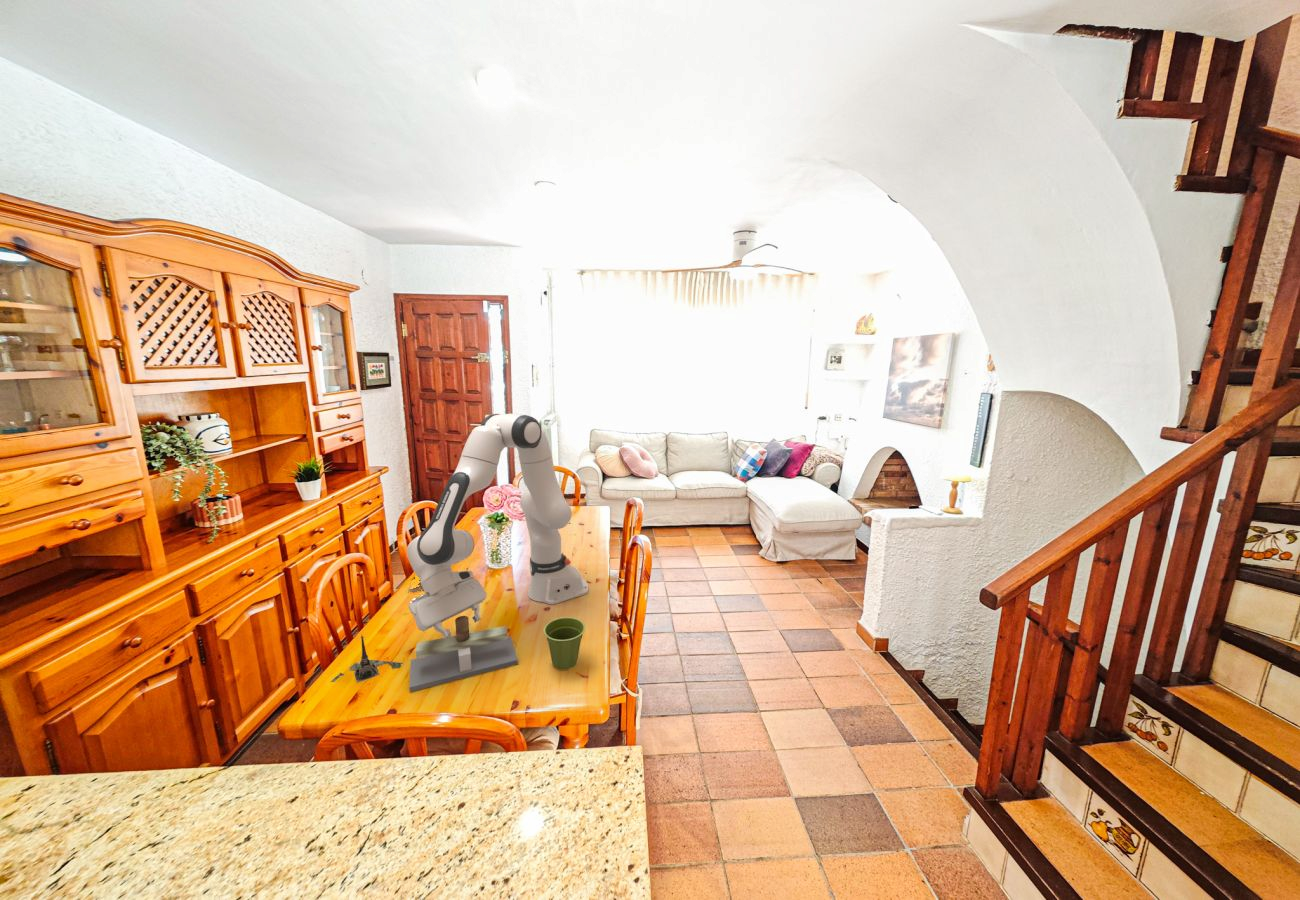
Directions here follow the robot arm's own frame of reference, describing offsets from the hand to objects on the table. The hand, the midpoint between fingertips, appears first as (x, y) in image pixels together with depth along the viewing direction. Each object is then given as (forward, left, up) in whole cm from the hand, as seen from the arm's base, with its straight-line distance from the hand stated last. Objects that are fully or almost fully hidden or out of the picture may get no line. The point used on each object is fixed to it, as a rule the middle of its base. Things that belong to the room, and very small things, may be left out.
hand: (463, 628), depth 130 cm
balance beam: (0, -1, -5) cm, 5 cm away
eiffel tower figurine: (+25, -8, -13) cm, 29 cm away
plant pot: (-26, +10, -12) cm, 31 cm away
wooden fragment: (+9, -62, -12) cm, 63 cm away
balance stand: (0, -1, -12) cm, 12 cm away
